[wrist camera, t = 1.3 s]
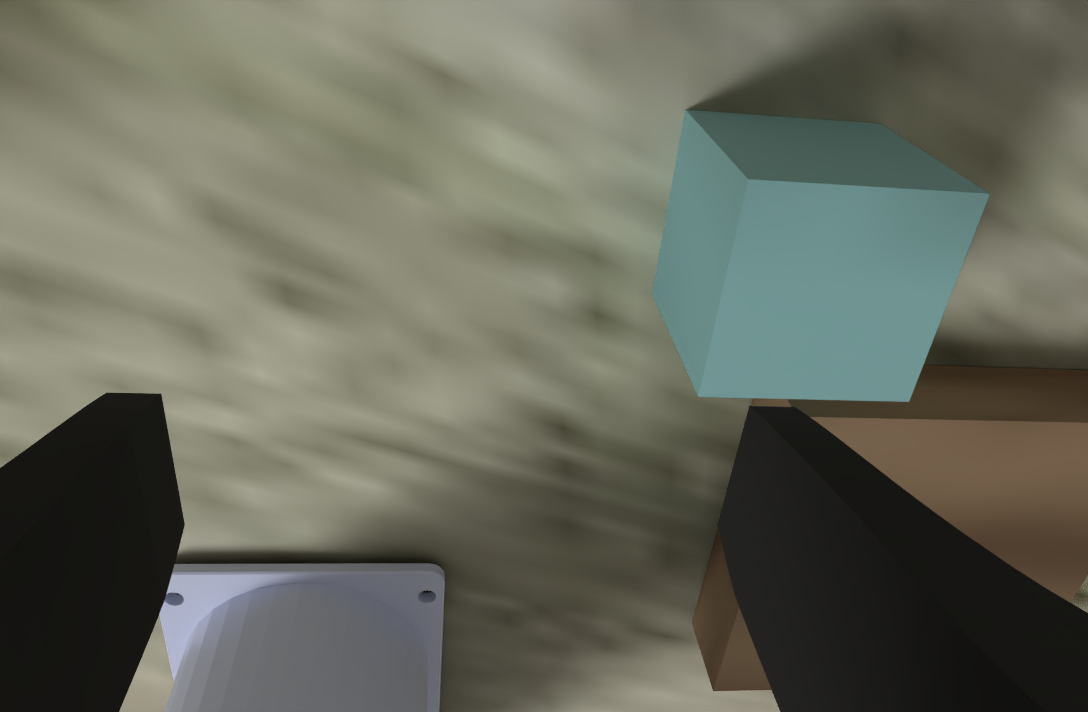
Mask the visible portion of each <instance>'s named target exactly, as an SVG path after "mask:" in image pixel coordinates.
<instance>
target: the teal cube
mask: <svg viewBox="0 0 1088 712" xmlns="http://www.w3.org/2000/svg"><path fill="white" fill-rule="evenodd" d="M989 195H990V193H988V192H987V191H985V190H983V189H982V188H980V187H979V186H977V185H976V184H974V183H972V182H971V181H969V180H968V179H966V178H965V177H963V176H962V175H960V174H958V173H957V172H955V171H954V170H952V169H951V168H949V167H947V166H946V165H944V164H943V163H941V162H940V161H938V160H937V159H935V158H933V157H932V156H930V155H929V154H927V153H926V152H924V151H922V150H921V149H919V148H918V147H916V146H915V145H913V144H912V143H910V142H908V141H907V140H905V139H904V138H902V137H901V136H899V135H897V134H896V133H894V132H893V131H891V130H890V129H888V128H887V127H885V126H883V125H882V124H879V123H865V122H851V121H837V120H823V119H809V118H795V117H781V116H767V115H753V114H739V113H725V112H711V111H697V110H685V115H684V120H683V126H682V131H681V137H680V142H679V148H678V153H677V159H676V165H675V170H674V176H673V181H672V187H671V192H670V198H669V203H668V209H667V214H666V220H665V225H664V231H663V236H662V242H661V247H660V253H659V258H658V264H657V270H656V275H655V281H654V286H653V292H652V296H653V298H654V300H655V303H656V305H657V307H658V309H659V311H660V314H661V316H662V318H663V320H664V322H665V325H666V327H667V329H668V331H669V333H670V336H671V338H672V340H673V342H674V345H675V347H676V349H677V351H678V353H679V356H680V358H681V360H682V362H683V364H684V367H685V369H686V371H687V373H688V375H689V378H690V380H691V382H692V384H693V386H694V389H695V391H696V393H697V395H698V397H725V398H767V399H809V400H852V401H894V402H909V401H910V398H911V396H912V393H913V390H914V388H915V385H916V383H917V380H918V378H919V375H920V373H921V370H922V367H923V365H924V362H925V360H926V357H927V355H928V352H929V349H930V347H931V344H932V342H933V339H934V337H935V334H936V331H937V329H938V326H939V324H940V321H941V319H942V316H943V313H944V311H945V308H946V306H947V303H948V301H949V298H950V295H951V293H952V290H953V288H954V285H955V283H956V280H957V278H958V275H959V272H960V270H961V267H962V265H963V262H964V260H965V257H966V254H967V252H968V249H969V247H970V244H971V242H972V239H973V236H974V234H975V231H976V229H977V226H978V224H979V221H980V218H981V216H982V213H983V211H984V208H985V206H986V203H987V200H988V198H989Z"/></svg>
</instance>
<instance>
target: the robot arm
mask: <svg viewBox="0 0 1088 712" xmlns="http://www.w3.org/2000/svg"><path fill="white" fill-rule="evenodd" d="M184 525H185V524H184V519H183V513H182V508H181V502H180V496H179V491H178V485H177V480H176V474H175V468H174V463H173V457H172V452H171V446H170V441H169V435H168V429H167V424H166V418H165V413H164V407H163V401H162V396H161V394H143V393H105V394H104V395H102V396H101V397H99V398H98V399H96V400H95V401H93V402H92V403H90V404H89V405H87V406H86V407H84V408H83V409H81V410H80V411H79V412H77V413H76V414H74V415H73V416H72V417H70V418H69V419H67V420H66V421H65V422H63V423H62V424H61V425H59V426H58V427H56V428H55V429H54V430H52V431H51V432H50V433H48V434H47V435H45V436H44V437H43V438H41V439H40V440H39V441H37V442H36V443H34V444H33V445H32V446H30V447H29V448H28V449H26V450H25V451H24V452H22V453H21V454H19V455H18V456H17V457H15V458H14V459H12V460H11V461H9V462H8V463H7V464H5V465H4V466H2V467H1V468H0V712H119V710H120V708H121V706H122V703H123V701H124V698H125V696H126V694H127V691H128V689H129V686H130V684H131V682H132V679H133V677H134V675H135V672H136V670H137V667H138V665H139V663H140V660H141V658H142V655H143V653H144V650H145V648H146V645H147V643H148V641H149V638H150V636H151V633H152V631H153V628H154V626H155V623H156V621H157V619H158V616H159V615H160V619H161V624H162V629H163V633H164V638H165V643H166V647H167V652H168V657H169V662H170V666H171V671H172V676H173V680H174V683H173V686H172V689H171V692H170V695H169V698H168V701H167V704H166V707H165V710H164V712H439V708H440V685H441V662H442V638H443V615H444V591H445V574H444V571H443V569H442V568H441V567H439V566H437V565H435V564H430V563H340V564H175V561H176V557H177V553H178V549H179V545H180V541H181V537H182V533H183V529H184ZM718 529H719V533H720V538H721V542H722V546H723V551H724V555H725V559H726V564H727V567H728V571H729V575H730V579H731V583H732V587H733V590H734V594H735V597H736V600H737V602H738V605H739V608H740V610H741V613H742V616H743V618H744V621H745V623H746V626H747V629H748V631H749V634H750V636H751V639H752V641H753V644H754V647H755V649H756V652H757V654H758V657H759V659H760V662H761V664H762V667H763V669H764V672H765V674H766V677H767V679H768V682H769V684H770V687H771V689H772V692H773V694H774V697H775V699H776V702H777V704H778V707H779V709H780V712H1088V613H1087V612H1085V611H1083V610H1082V609H1080V608H1078V607H1077V606H1075V605H1073V604H1072V603H1070V602H1068V601H1067V600H1065V599H1063V598H1062V597H1060V596H1058V595H1057V594H1055V593H1053V592H1052V591H1050V590H1048V589H1047V588H1045V587H1043V586H1042V585H1040V584H1039V583H1037V582H1035V581H1034V580H1032V579H1031V578H1029V577H1028V576H1026V575H1025V574H1023V573H1021V572H1020V571H1018V570H1017V569H1015V568H1014V567H1012V566H1011V565H1009V564H1008V563H1006V562H1005V561H1003V560H1002V559H1000V558H999V557H998V556H996V555H995V554H993V553H992V552H990V551H989V550H987V549H986V548H984V547H983V546H982V545H980V544H979V543H977V542H976V541H974V540H973V539H971V538H970V537H968V536H967V535H966V534H964V533H963V532H961V531H960V530H958V529H957V528H956V527H954V526H953V525H952V524H950V523H949V522H947V521H946V520H945V519H943V518H942V517H941V516H939V515H938V514H936V513H935V512H934V511H932V510H931V509H930V508H928V507H927V506H926V505H924V504H923V503H922V502H920V501H919V500H918V499H916V498H915V497H914V496H912V495H911V494H910V493H908V492H907V491H906V490H904V489H903V488H902V487H900V486H899V485H898V484H897V483H895V482H894V481H893V480H891V479H890V478H889V477H887V476H886V475H885V474H884V473H882V472H881V471H880V470H878V469H877V468H876V467H875V466H873V465H872V464H871V463H869V462H868V461H867V460H866V459H864V458H863V457H862V456H860V455H859V454H858V453H857V452H855V451H854V450H853V449H851V448H850V447H849V446H848V445H846V444H845V443H844V442H842V441H841V440H840V439H839V438H837V437H836V436H835V435H833V434H832V433H831V432H829V431H828V430H827V429H826V428H824V427H823V426H821V425H820V424H819V423H817V422H816V421H815V420H813V419H812V418H811V417H809V416H808V415H806V414H805V413H803V412H802V411H800V410H799V409H797V408H796V407H776V406H749V410H748V413H747V417H746V421H745V425H744V428H743V432H742V436H741V440H740V444H739V447H738V451H737V455H736V459H735V462H734V466H733V470H732V474H731V477H730V481H729V485H728V489H727V492H726V496H725V500H724V504H723V507H722V511H721V515H720V519H719V522H718ZM427 590H428V591H432V592H430V593H425V592H422V591H427ZM172 592H174V593H179V594H180V595H177V594H173V593H172Z"/></svg>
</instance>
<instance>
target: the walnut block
mask: <svg viewBox="0 0 1088 712" xmlns="http://www.w3.org/2000/svg"><path fill="white" fill-rule="evenodd" d="M751 406H776V407H796V408H797V409H799V410H800V411H802V412H803V413H805V414H806V415H808V416H809V417H811V418H812V419H813V420H815V421H816V422H817V423H819V424H820V425H821V426H823V427H824V428H826V429H827V430H828V431H829V432H831V433H832V434H833V435H835V436H836V437H837V438H839V439H840V440H841V441H842V442H844V443H845V444H846V445H848V446H849V447H850V448H851V449H853V450H854V451H855V452H857V453H858V454H859V455H860V456H862V457H863V458H864V459H866V460H867V461H868V462H869V463H871V464H872V465H873V466H875V467H876V468H877V469H878V470H880V471H881V472H882V473H884V474H885V475H886V476H887V477H889V478H890V479H891V480H893V481H894V482H895V483H897V484H898V485H899V486H900V487H902V488H903V489H904V490H906V491H907V492H908V493H910V494H911V495H912V496H914V497H915V498H916V499H918V500H919V501H920V502H922V503H923V504H924V505H926V506H927V507H928V508H930V509H931V510H932V511H934V512H935V513H936V514H938V515H939V516H941V517H942V518H943V519H945V520H946V521H947V522H949V523H950V524H952V525H953V526H954V527H956V528H957V529H958V530H960V531H961V532H963V533H964V534H966V535H967V536H968V537H970V538H971V539H973V540H974V541H976V542H977V543H979V544H980V545H982V546H983V547H984V548H986V549H987V550H989V551H990V552H992V553H993V554H995V555H996V556H998V557H999V558H1000V559H1002V560H1003V561H1005V562H1006V563H1008V564H1009V565H1011V566H1012V567H1014V568H1015V569H1017V570H1018V571H1020V572H1021V573H1023V574H1025V575H1026V576H1028V577H1029V578H1031V579H1032V580H1034V581H1035V582H1037V583H1039V584H1040V585H1042V586H1043V587H1045V588H1047V589H1048V590H1050V591H1052V592H1053V593H1055V594H1057V595H1058V596H1060V597H1062V598H1063V599H1065V600H1067V601H1068V602H1070V603H1071V602H1072V600H1073V598H1074V597H1075V595H1076V593H1077V592H1078V590H1079V588H1080V587H1081V585H1082V583H1083V582H1084V580H1085V578H1086V577H1087V575H1088V370H1067V369H1033V368H999V367H966V366H932V365H923V367H922V370H921V373H920V375H919V378H918V380H917V383H916V385H915V388H914V390H913V393H912V396H911V398H910V401H909V402H894V401H852V400H809V399H767V398H753V401H752V405H751ZM692 624H693V627H694V631H695V634H696V637H697V640H698V644H699V647H700V650H701V653H702V656H703V660H704V663H705V666H706V669H707V673H708V676H709V679H710V682H711V685H712V689H713V691H737V690H772V689H771V687H770V684H769V682H768V679H767V677H766V674H765V672H764V669H763V667H762V664H761V662H760V659H759V657H758V654H757V652H756V649H755V647H754V644H753V641H752V639H751V636H750V634H749V631H748V629H747V626H746V623H745V621H744V618H743V616H742V613H741V610H740V608H739V605H738V602H737V600H736V597H735V594H734V590H733V587H732V583H731V579H730V575H729V571H728V567H727V564H726V559H725V555H724V551H723V546H722V542H721V538H720V533H719V529H718V531H717V535H716V538H715V542H714V546H713V549H712V553H711V557H710V560H709V564H708V568H707V572H706V575H705V579H704V583H703V586H702V590H701V594H700V598H699V601H698V605H697V609H696V612H695V616H694V620H693V623H692Z"/></svg>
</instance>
